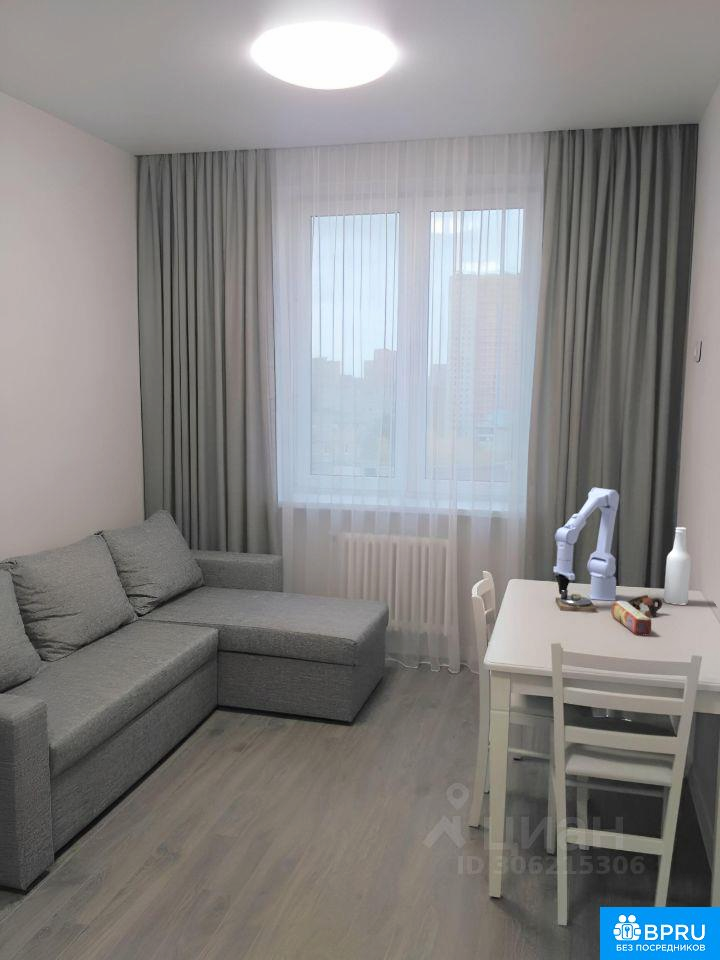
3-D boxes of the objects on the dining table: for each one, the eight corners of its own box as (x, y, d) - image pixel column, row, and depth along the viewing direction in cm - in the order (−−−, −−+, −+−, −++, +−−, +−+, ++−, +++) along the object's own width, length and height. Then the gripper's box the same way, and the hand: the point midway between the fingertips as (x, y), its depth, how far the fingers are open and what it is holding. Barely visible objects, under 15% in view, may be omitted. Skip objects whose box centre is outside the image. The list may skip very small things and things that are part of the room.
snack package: (652, 636, 259) (653, 617, 259) (633, 636, 259) (634, 616, 258) (628, 618, 280) (629, 600, 280) (610, 617, 280) (611, 599, 279)
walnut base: (589, 603, 299) (589, 599, 299) (596, 612, 286) (596, 608, 286) (555, 601, 300) (555, 597, 300) (560, 610, 287) (560, 606, 287)
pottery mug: (640, 620, 280) (631, 598, 282) (630, 624, 289) (622, 603, 291) (670, 611, 281) (661, 589, 284) (659, 615, 290) (651, 594, 293)
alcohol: (660, 599, 308) (666, 525, 305) (683, 600, 308) (689, 526, 304) (667, 605, 300) (673, 529, 296) (690, 606, 299) (696, 530, 296)
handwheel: (585, 598, 299) (586, 587, 298) (594, 606, 288) (595, 594, 287) (556, 598, 298) (557, 586, 298) (564, 605, 287) (565, 593, 287)
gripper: (547, 555, 299) (544, 589, 301) (563, 563, 285) (560, 599, 286) (564, 555, 300) (561, 589, 302) (580, 563, 286) (578, 599, 288)
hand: (562, 594), depth 294 cm, fingers closed, pressing on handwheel
